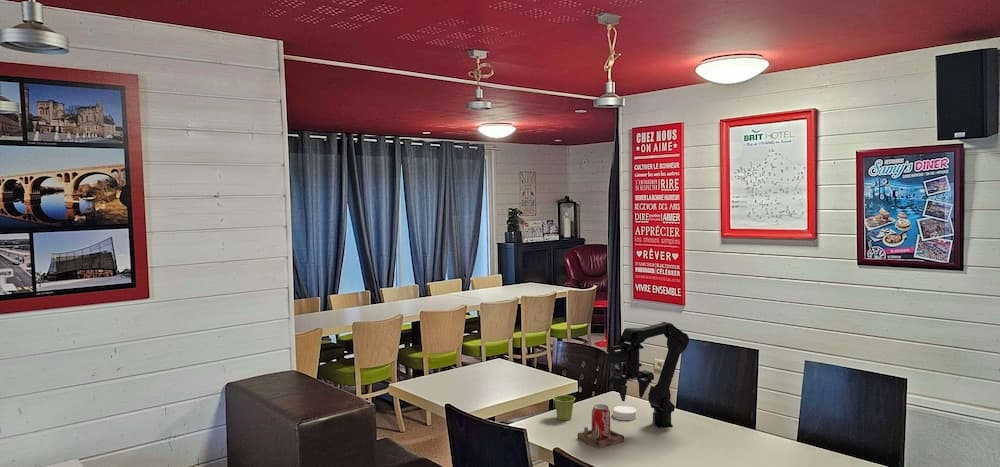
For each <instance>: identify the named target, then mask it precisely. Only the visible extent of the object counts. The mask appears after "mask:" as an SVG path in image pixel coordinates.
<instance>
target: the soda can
mask: <svg viewBox="0 0 1000 467" xmlns="http://www.w3.org/2000/svg"><path fill="white" fill-rule="evenodd" d="M592 407H593V408H592V410H591V430H592V436H593V431H596V432H597V439H599V440H605V439H607V438H608V437H610V430H611V411H610V409H609V406H608V405H606V404H600V403H599V404H594V405H593V406H592Z"/></svg>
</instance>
